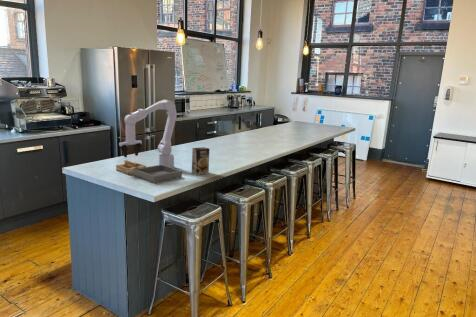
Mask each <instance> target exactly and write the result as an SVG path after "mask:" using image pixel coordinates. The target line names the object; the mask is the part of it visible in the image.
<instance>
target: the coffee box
mask: <svg viewBox="0 0 476 317" xmlns="http://www.w3.org/2000/svg"><path fill="white" fill-rule="evenodd" d="M191 151H192V153H191V154H192V156H191V173H192V174H194V175H195V176H199V175H200V174H201V175H207V173H208V174H210V172H209V171H210V169H209V168H210V148H208V147H205V146H204V147H203V146H202V147H192V150H191Z"/></svg>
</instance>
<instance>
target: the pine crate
mask: <svg viewBox="0 0 476 317" xmlns="http://www.w3.org/2000/svg"><path fill="white" fill-rule="evenodd" d="M115 166H116V171H117V172H120V173H121V174H125V175H127V176H129V175H134V169H139V168H145V167H147V165H145V164H141V163H138V162H136V161H131V160H129V159H125V160H124V163H121V164H120V163H119V164H115Z"/></svg>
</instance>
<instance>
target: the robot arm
mask: <svg viewBox="0 0 476 317" xmlns="http://www.w3.org/2000/svg"><path fill="white" fill-rule="evenodd" d="M158 110H163V111H165V113H166V114H167V118H166V123H165V126H164V132H163V137H162V138H161V140H160V141H159V144H158V146H157V151H158V165H165V166H168V167H171V168H174V169H175V156H174V154H173V153H172V141H171V140H172V136H173V133H174V128H175V124H176V119H177V116H178V114H177V109H176V104H175V103H174V101H172V100H169V99H166V98H165V99H164V98H163V99H162V100H159V101H157V102H155V103H153V104H152V105H150V106H148V107H147V108H144V109H143V108H138V109H137V111H134V112H130V114H126V115H125V117H124V119H123V122H124V123H125V141H123V142H119V143H118V146H119V148H120V149H121V152H122V154H123V157H124V158H127V157H128V149H129V146H132V145H133V149H134V155H135V157H137V156H139V151H140V149H141V148H142V144H143V142H142V140H140V139H139V140H136V123H137V122H140V121H141V120H144V119H145V118H147V116H148V115H149V114H151V113H153V112H155V111H158Z"/></svg>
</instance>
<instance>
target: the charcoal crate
mask: <svg viewBox="0 0 476 317" xmlns="http://www.w3.org/2000/svg"><path fill="white" fill-rule="evenodd" d="M182 172H183V170H180V169H176V168H175V167H174V168H171V167H168V166H165V165H159V164H157V165H152V166H146V167H145V168H139V169H134V174H133V176H134V177H136V178H138V179H142V180H143V181H144V180H145V181H146V182H149V183H152V184H157V183H162V182H167V181H171V180H175V179H181V178H182V177H183V173H182Z"/></svg>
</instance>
